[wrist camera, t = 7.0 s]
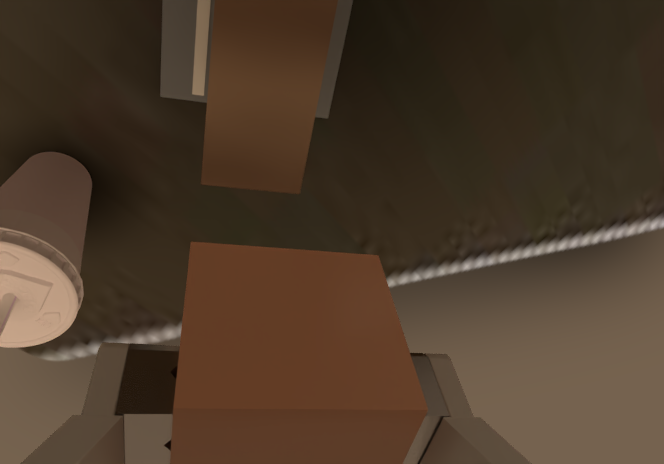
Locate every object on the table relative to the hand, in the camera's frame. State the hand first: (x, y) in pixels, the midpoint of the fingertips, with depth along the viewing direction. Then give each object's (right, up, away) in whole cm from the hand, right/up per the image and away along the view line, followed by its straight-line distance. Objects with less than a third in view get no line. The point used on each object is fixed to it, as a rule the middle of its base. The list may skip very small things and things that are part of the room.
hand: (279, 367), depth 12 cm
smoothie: (-14, +6, +20) cm, 25 cm away
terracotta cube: (0, +1, +1) cm, 2 cm away
